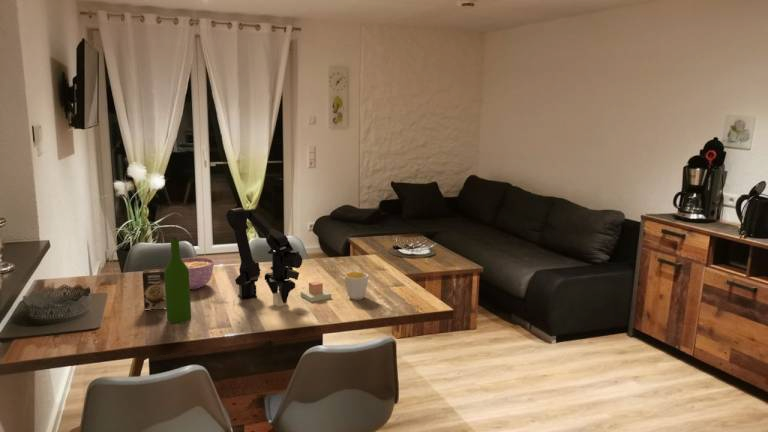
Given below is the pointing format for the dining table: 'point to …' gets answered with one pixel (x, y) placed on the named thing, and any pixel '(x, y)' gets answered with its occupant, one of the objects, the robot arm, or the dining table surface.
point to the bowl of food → (199, 271)
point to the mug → (356, 285)
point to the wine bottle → (177, 287)
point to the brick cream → (278, 300)
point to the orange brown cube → (315, 287)
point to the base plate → (315, 296)
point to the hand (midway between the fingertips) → (280, 300)
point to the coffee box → (154, 288)
